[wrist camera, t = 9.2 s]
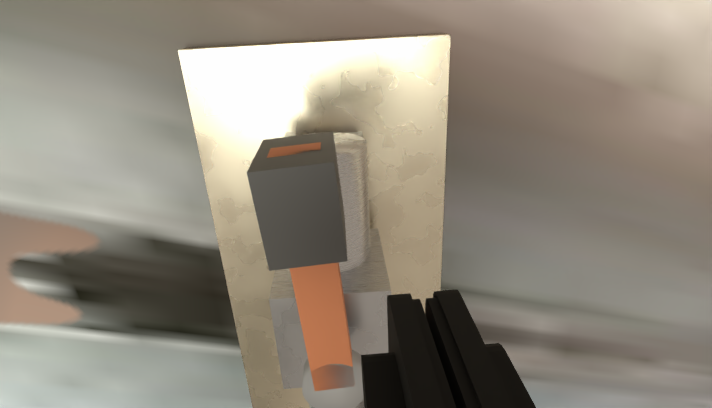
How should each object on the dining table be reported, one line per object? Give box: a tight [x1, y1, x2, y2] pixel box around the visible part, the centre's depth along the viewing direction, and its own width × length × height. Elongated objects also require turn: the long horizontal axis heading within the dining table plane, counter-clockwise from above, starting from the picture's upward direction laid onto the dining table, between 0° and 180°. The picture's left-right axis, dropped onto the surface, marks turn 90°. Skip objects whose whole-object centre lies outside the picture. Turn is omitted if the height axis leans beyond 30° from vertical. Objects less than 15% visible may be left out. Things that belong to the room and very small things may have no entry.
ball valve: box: [178, 33, 450, 408], centre depth 28 cm, size 30×16×12 cm, turn 3°
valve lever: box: [247, 131, 364, 408], centre depth 19 cm, size 14×3×4 cm, turn 6°
